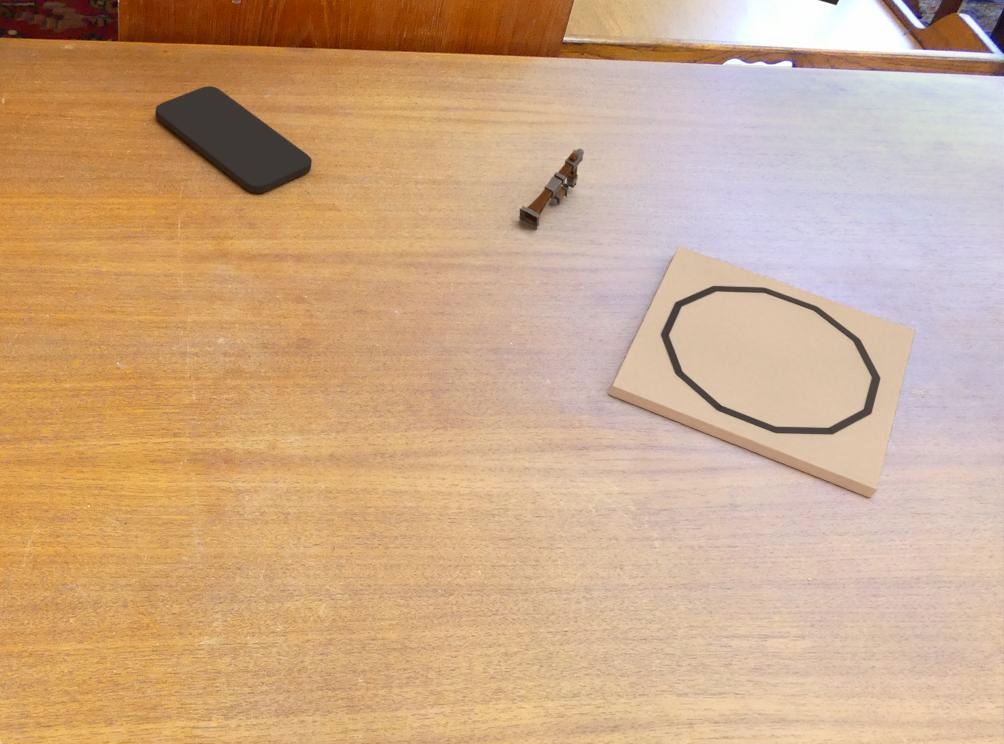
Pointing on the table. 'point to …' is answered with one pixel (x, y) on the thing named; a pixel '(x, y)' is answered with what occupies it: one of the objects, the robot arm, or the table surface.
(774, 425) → the sketch board
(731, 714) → the table surface
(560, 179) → the brown two-tone long part
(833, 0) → the marker
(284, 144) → the phone
